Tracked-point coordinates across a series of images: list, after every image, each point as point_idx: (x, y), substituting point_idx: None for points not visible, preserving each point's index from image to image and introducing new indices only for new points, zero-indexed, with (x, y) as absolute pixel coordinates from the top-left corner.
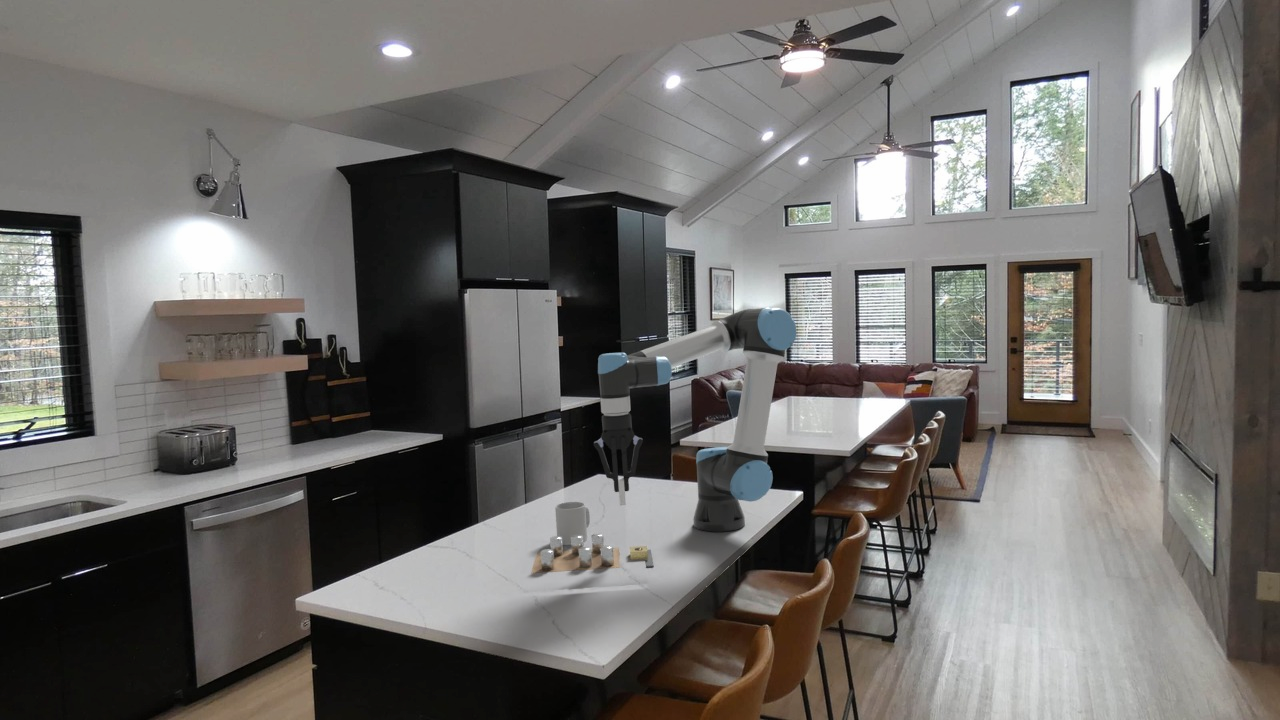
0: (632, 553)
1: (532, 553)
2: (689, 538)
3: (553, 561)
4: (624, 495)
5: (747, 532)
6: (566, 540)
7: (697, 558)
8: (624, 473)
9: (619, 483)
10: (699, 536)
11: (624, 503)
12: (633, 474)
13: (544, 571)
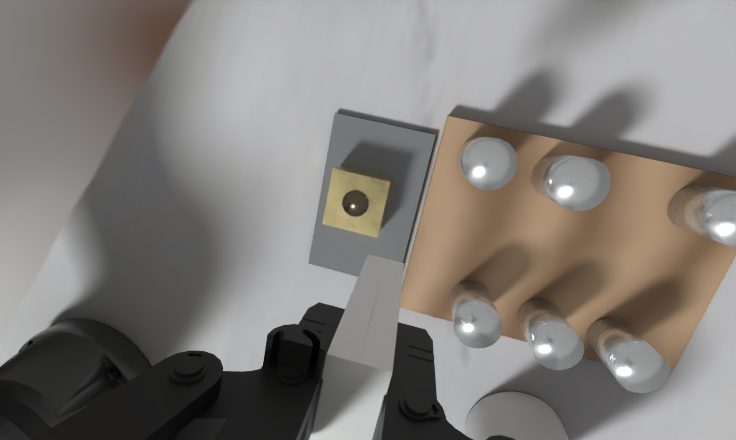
0: (383, 180)
1: (663, 407)
2: (187, 314)
3: (694, 200)
4: (361, 280)
5: (42, 290)
6: (550, 419)
7: (198, 138)
8: (287, 414)
9: (382, 347)
10: (160, 317)
11: (373, 260)
12: (183, 359)
13: (718, 182)
